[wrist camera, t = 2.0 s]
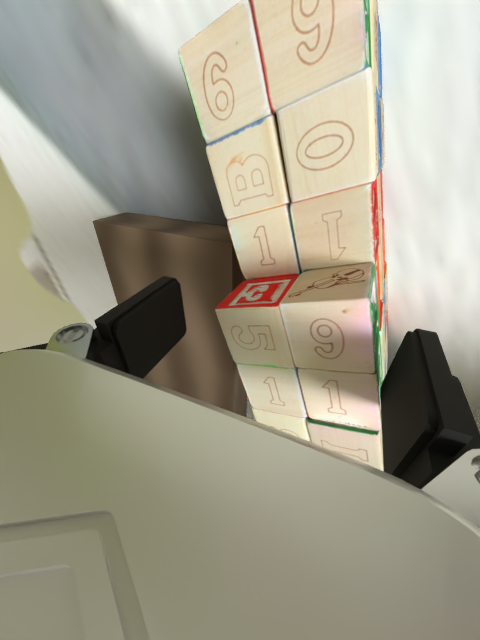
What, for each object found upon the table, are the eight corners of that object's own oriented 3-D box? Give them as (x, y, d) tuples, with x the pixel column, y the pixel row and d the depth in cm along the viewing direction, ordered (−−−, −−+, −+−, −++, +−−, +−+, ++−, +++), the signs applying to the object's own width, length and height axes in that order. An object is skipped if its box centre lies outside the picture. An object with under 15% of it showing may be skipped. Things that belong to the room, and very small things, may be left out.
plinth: (253, 230, 21) (231, 243, 18) (245, 419, 36) (233, 444, 33) (126, 212, 26) (92, 221, 23) (165, 385, 41) (148, 404, 38)
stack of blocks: (268, 87, 16) (102, 10, 7) (382, 26, 13) (354, -273, 4) (315, 358, 25) (271, 478, 16) (388, 363, 22) (385, 517, 13)
